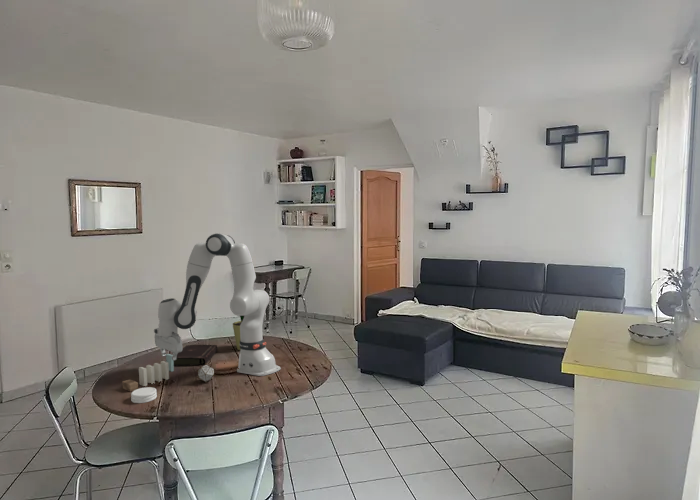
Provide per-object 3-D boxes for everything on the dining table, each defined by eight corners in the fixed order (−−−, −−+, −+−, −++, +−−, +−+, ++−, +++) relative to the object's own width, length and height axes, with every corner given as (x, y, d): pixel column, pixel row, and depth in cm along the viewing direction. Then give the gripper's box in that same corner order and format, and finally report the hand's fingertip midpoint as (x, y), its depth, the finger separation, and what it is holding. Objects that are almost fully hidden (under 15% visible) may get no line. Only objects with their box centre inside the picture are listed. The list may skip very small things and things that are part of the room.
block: (138, 389, 207) (137, 382, 207) (130, 391, 205) (130, 384, 204) (130, 386, 212) (130, 379, 211) (122, 388, 209) (122, 381, 209)
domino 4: (169, 378, 221) (168, 362, 220) (166, 379, 219) (165, 363, 219) (164, 377, 223) (163, 360, 223) (161, 377, 222) (160, 361, 222)
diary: (217, 352, 265) (217, 344, 265) (205, 366, 240) (205, 357, 240) (185, 353, 265) (184, 344, 264) (169, 367, 240) (169, 357, 239)
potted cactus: (265, 346, 274) (264, 296, 272) (247, 352, 261) (245, 300, 259) (246, 342, 282) (245, 294, 280) (227, 349, 269) (225, 298, 267)
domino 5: (173, 370, 232) (173, 355, 232) (171, 371, 231) (170, 355, 231) (169, 369, 235) (168, 353, 235) (166, 369, 234) (165, 354, 233)
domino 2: (154, 383, 215) (154, 366, 214) (151, 384, 214) (151, 367, 213) (149, 381, 218) (149, 364, 217) (147, 382, 216) (146, 365, 216)
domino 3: (162, 381, 218) (161, 364, 217) (159, 381, 217) (158, 365, 216) (157, 379, 220) (156, 362, 220) (154, 380, 219) (153, 363, 219)
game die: (203, 390, 215) (190, 377, 210) (204, 378, 222) (191, 365, 217) (220, 380, 215) (207, 367, 210) (220, 369, 222) (208, 355, 217)
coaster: (160, 394, 202) (160, 386, 201) (151, 403, 192) (151, 395, 192) (137, 394, 201) (136, 387, 201) (127, 404, 191) (126, 396, 191)
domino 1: (147, 385, 212) (146, 368, 212) (144, 386, 211) (143, 369, 210) (142, 383, 215) (141, 366, 214) (139, 384, 214) (138, 367, 213)
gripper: (185, 333, 228) (186, 360, 229) (163, 326, 241) (164, 352, 242) (173, 335, 223) (174, 363, 224) (151, 329, 236) (152, 355, 237)
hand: (169, 357), depth 233 cm, fingers open, 8 cm apart
